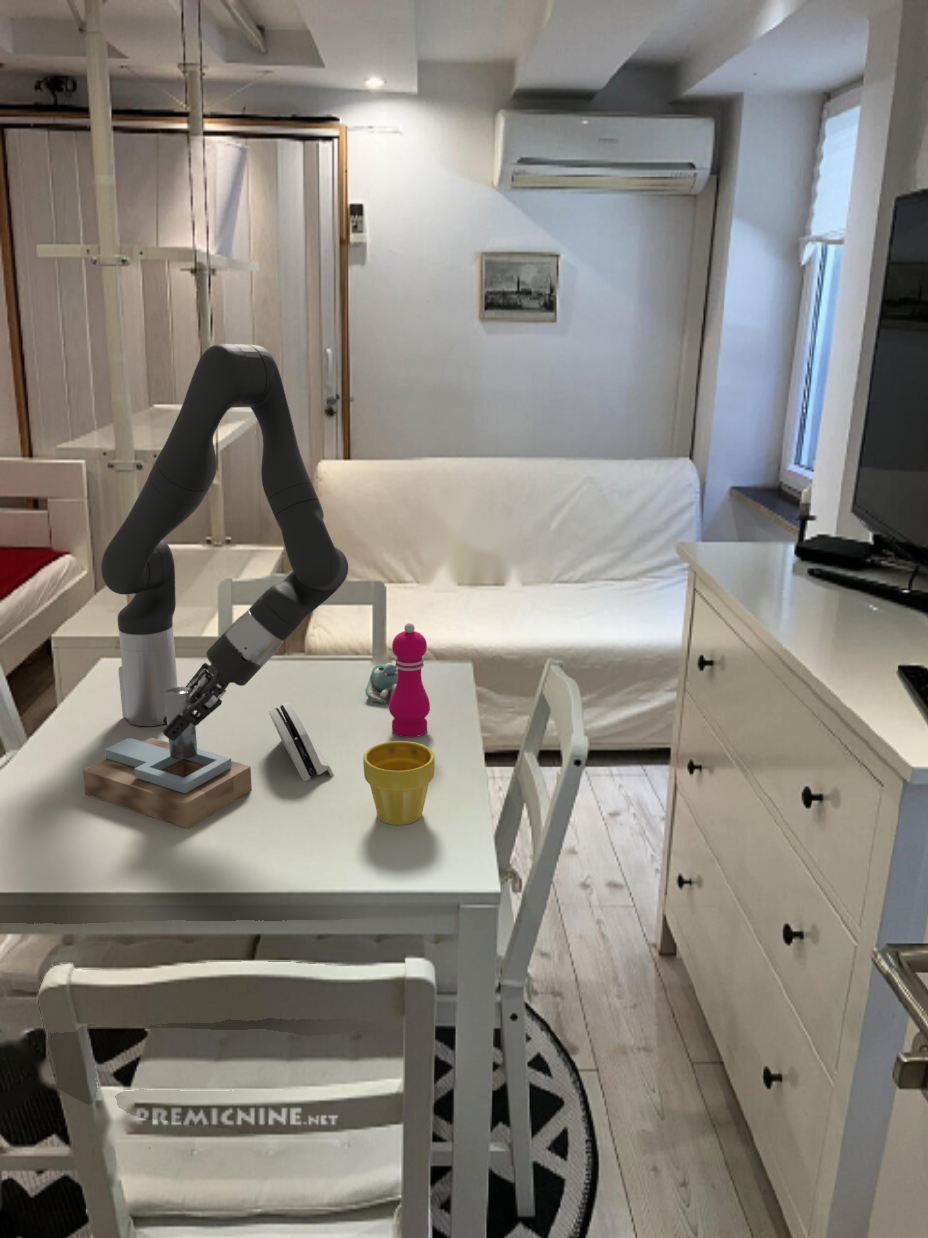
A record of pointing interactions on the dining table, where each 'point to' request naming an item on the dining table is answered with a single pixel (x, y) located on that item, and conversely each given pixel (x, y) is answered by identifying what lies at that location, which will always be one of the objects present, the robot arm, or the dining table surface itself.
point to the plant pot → (399, 779)
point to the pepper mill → (409, 685)
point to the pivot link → (165, 764)
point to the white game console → (298, 742)
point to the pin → (187, 740)
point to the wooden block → (166, 789)
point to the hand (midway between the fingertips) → (167, 730)
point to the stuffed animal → (382, 682)
